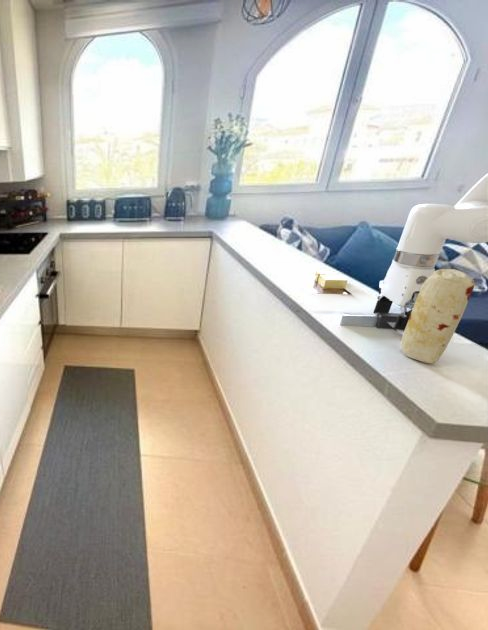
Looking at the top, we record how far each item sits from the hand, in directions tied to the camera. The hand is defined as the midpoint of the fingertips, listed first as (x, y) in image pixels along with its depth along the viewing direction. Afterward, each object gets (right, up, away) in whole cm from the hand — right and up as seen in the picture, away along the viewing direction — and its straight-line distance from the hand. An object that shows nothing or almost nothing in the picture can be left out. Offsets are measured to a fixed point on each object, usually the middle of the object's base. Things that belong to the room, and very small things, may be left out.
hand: (390, 321), depth 90 cm
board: (+1, +11, +26) cm, 28 cm away
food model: (-4, -8, -11) cm, 14 cm away
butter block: (+2, +11, +24) cm, 26 cm away
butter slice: (+4, +14, +28) cm, 31 cm away
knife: (-3, -1, +1) cm, 3 cm away
